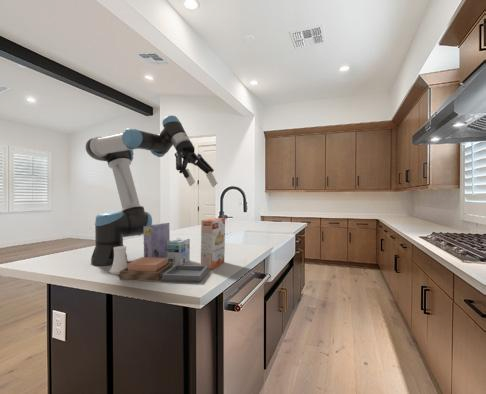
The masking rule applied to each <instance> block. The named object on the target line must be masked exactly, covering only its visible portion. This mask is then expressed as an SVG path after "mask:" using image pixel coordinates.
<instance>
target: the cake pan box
mask: <svg viewBox="0 0 486 394" xmlns="http://www.w3.org/2000/svg"><path fill="white" fill-rule="evenodd" d="M170 238H171V237H170V222H161V223H156V224H152V225H149V226H144V234H143V257H149V258H168V241H170Z"/></svg>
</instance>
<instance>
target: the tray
mask: <svg viewBox="0 0 486 394" xmlns="http://www.w3.org/2000/svg"><path fill="white" fill-rule="evenodd" d="M208 273H209V269H208V266H202V265H201V264H200V265H199V264H198V265H197V264H182V265H173V267H171V268H170V269H169V270H167V271H166V272H165V273H163V274H162V278H161V282H167V283H169V282H170V283H193V284H194V283H195V284H200V283H201V282H202V280H203V279H204V278H205V276H207V274H208Z"/></svg>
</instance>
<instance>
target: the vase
mask: <svg viewBox="0 0 486 394" xmlns="http://www.w3.org/2000/svg"><path fill="white" fill-rule="evenodd" d="M126 254H127V246H125V245H123V246H118V247H114V261H113V264H112V265H111V267H110V269H109V274H111V275H120V271H121V270H123V269H125V268H127V267H128V264H129V263H128V262H127V261H128V260H126Z"/></svg>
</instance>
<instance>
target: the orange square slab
mask: <svg viewBox="0 0 486 394" xmlns="http://www.w3.org/2000/svg"><path fill="white" fill-rule="evenodd" d="M127 264H128V271H154V272H156V271H157V270H159V269H160V268H162V267H163V266H165V265H166V264H167V258H149V257H144V256H141V257H139V258H137V259H135V260H133V261H131V262H129V263H127Z"/></svg>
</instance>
